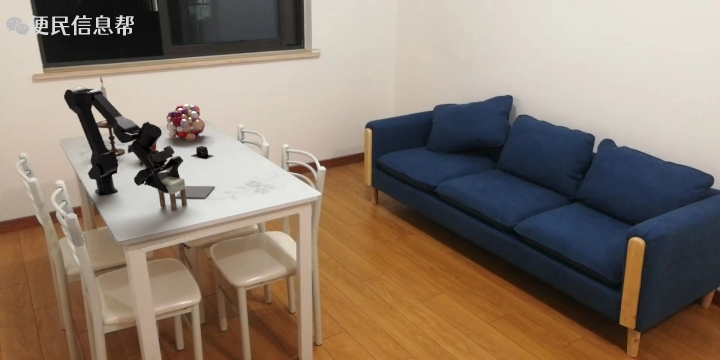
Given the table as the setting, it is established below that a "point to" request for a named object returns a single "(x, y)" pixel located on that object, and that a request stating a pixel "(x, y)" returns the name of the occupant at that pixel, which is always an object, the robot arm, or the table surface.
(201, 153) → the black brimmed piece
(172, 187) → the stool
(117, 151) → the candlestick
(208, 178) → the table surface
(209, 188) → the mat
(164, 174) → the phone
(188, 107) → the ornament
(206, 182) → the table surface
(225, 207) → the table surface
